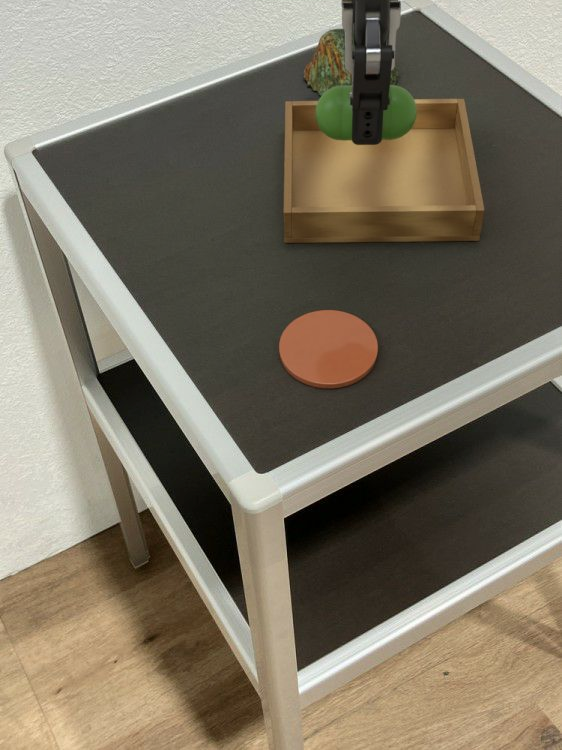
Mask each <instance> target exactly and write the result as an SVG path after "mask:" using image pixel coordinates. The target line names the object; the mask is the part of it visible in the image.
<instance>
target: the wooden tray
mask: <svg viewBox="0 0 562 750" xmlns="http://www.w3.org/2000/svg"><path fill="white" fill-rule="evenodd" d="M413 99H414V101H415V104H416V107H417V116H416V120H415V123H414V125H413V127H412V128H411V129H410V131H409V132H408V133H406V134H405V135H404V136H402V137H400V138H398V139H394V140H382V141H381V142H380V143H379V144H377V145H356V144H354V143H353V142H352V140H345V141H342V140H335V139H332V138H330V137H328V136H326V135H325V134H324V133H323V132H322V131H321V129H320V128H319V126H318V124H317V121H316V114H315V113H316V106H317V103H318V101H319V100H293V101H291V100H286V101H285V102H284V103H285V105H284V153H283V154H284V156H283V158H284V159H283V164H284V165H283V234H284V235H283V237H284V238H283V240H284V243H285V244H305V243H307V244H308V243H310V244H311V243H312V244H313V243H318V244H319V243H393V242H395V243H396V242H397V243H398V242H402V243H403V242H405V243H406V242H407V243H408V242H410V243H411V242H412V243H413V242H479V241H480V239H481V233H482V229H483V228H482V227H483V221H484V216H485V205H484V199H483V194H482V188H481V184H480V183H481V182H480V177H479V172H478V167H477V162H476V157H475V156H476V155H475V150H474V144H473V140H472V135H471V129H470V123H469V118H468V113H467V112H468V111H467V106H466V101H465V99H464V98H421V99H419V98H418V99H417V98H413Z"/></svg>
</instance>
